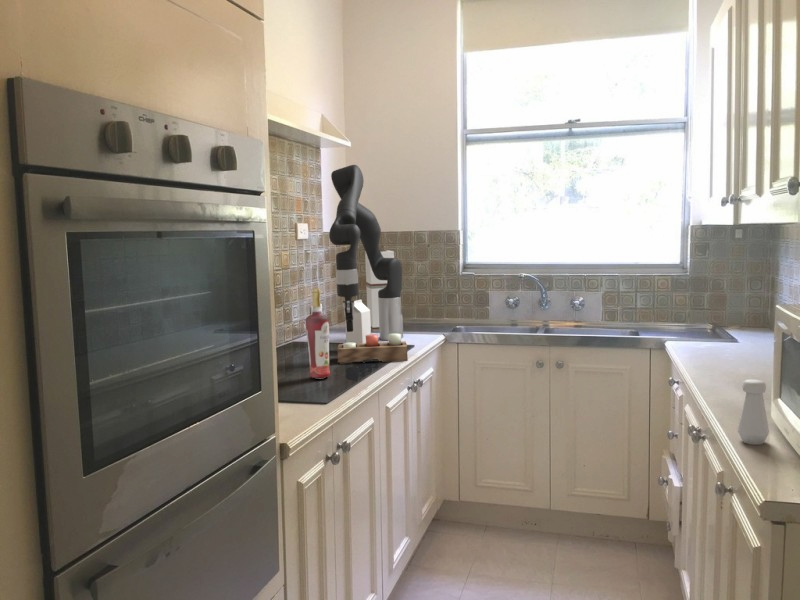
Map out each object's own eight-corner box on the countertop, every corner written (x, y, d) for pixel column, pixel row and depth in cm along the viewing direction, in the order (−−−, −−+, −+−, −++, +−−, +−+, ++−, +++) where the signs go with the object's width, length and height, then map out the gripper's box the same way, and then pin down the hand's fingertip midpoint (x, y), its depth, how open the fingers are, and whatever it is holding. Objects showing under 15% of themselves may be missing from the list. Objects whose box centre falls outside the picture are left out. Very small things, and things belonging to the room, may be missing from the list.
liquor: (321, 381, 209) (317, 290, 206) (303, 379, 213) (298, 290, 210) (336, 376, 215) (332, 288, 212) (318, 374, 219) (314, 287, 216)
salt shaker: (739, 435, 146) (741, 376, 145) (770, 439, 143) (771, 378, 141) (735, 443, 141) (736, 381, 140) (766, 447, 138) (768, 385, 137)
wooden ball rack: (338, 363, 236) (337, 349, 235) (339, 357, 245) (338, 344, 245) (407, 360, 237) (407, 346, 236) (405, 355, 246) (405, 341, 246)
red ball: (365, 346, 238) (365, 336, 238) (366, 344, 243) (365, 334, 242) (378, 346, 238) (378, 336, 238) (378, 343, 243) (378, 334, 242)
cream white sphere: (388, 345, 239) (388, 335, 238) (388, 343, 243) (388, 333, 242) (401, 345, 239) (401, 335, 238) (400, 342, 243) (400, 333, 243)
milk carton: (371, 349, 260) (369, 299, 258) (363, 352, 254) (360, 301, 252) (355, 348, 263) (353, 299, 261) (346, 351, 257) (344, 301, 255)
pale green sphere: (343, 354, 238) (342, 344, 238) (343, 352, 242) (343, 342, 242) (355, 354, 238) (355, 344, 238) (356, 351, 243) (355, 342, 242)
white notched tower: (396, 330, 303) (393, 251, 298) (372, 332, 300) (369, 252, 296) (390, 326, 314) (388, 250, 310) (368, 328, 311) (365, 251, 307)
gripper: (337, 280, 244) (339, 328, 246) (335, 284, 231) (338, 335, 233) (358, 279, 244) (360, 327, 246) (358, 283, 231) (360, 334, 233)
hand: (350, 331), depth 240 cm, fingers closed
